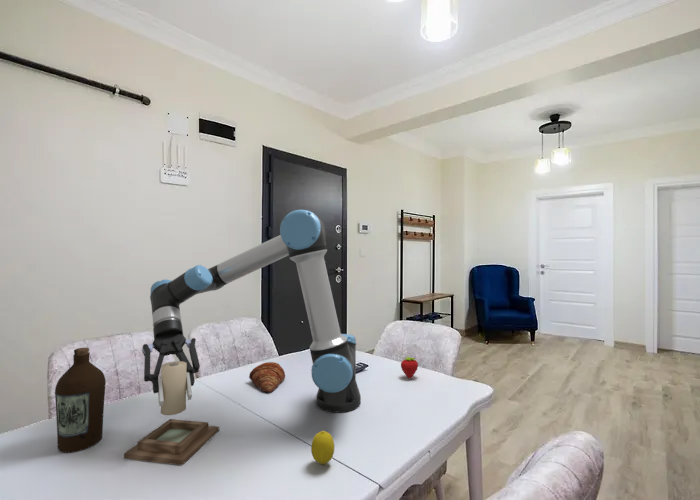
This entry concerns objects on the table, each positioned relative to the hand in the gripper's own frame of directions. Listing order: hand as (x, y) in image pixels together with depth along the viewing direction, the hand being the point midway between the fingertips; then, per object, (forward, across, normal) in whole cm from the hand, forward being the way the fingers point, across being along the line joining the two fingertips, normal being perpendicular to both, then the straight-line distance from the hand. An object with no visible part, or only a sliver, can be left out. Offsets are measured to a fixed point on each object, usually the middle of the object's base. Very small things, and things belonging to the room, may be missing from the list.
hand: (176, 400), depth 88 cm
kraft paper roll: (0, 0, -5) cm, 5 cm away
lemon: (+28, -28, +10) cm, 41 cm away
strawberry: (+8, -86, -10) cm, 87 cm away
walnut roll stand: (+7, 0, -11) cm, 13 cm away
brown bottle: (-4, +20, -22) cm, 30 cm away
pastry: (-12, -37, -30) cm, 49 cm away
